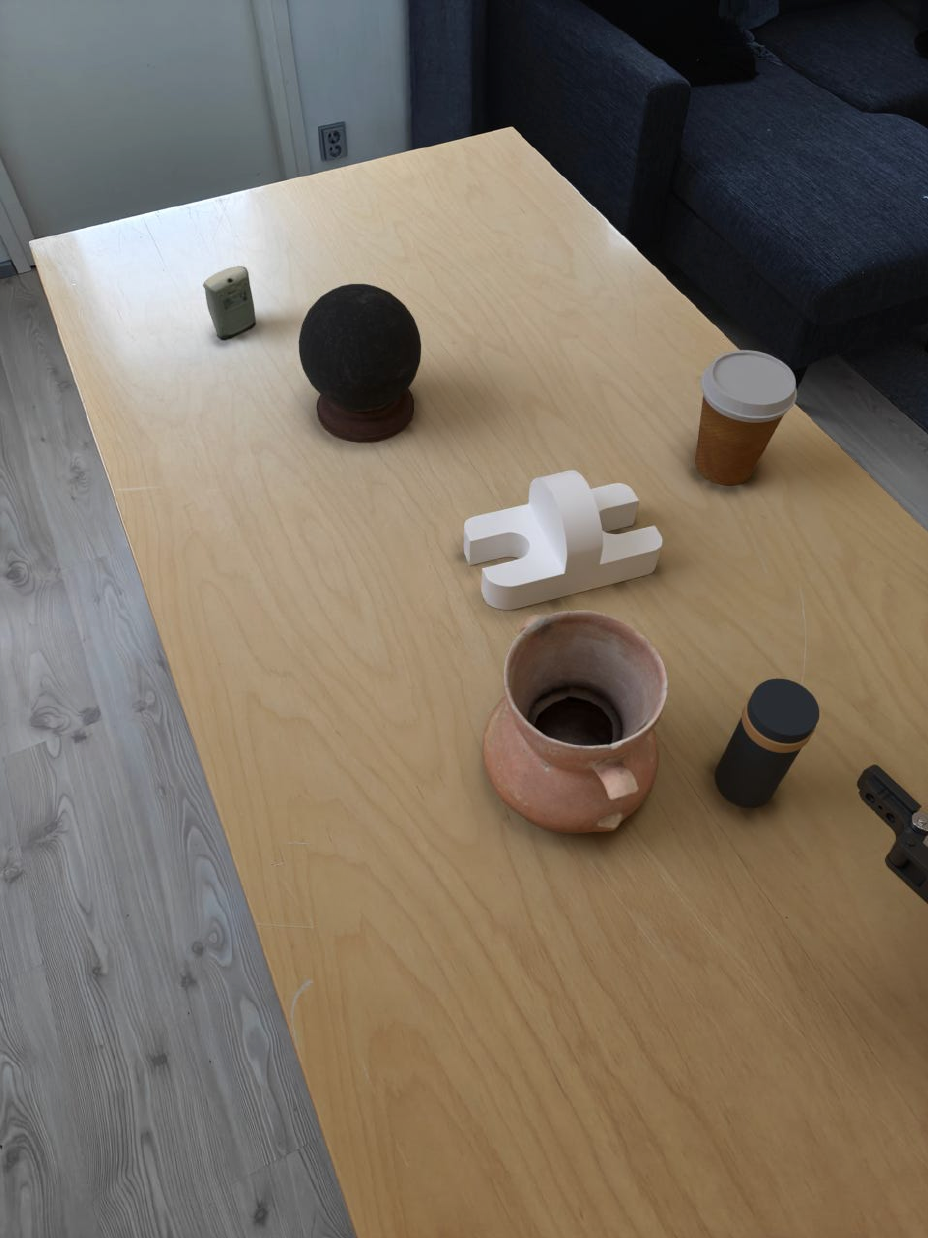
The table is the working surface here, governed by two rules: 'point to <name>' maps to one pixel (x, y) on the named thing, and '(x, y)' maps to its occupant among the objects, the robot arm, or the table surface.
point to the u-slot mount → (560, 542)
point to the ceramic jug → (576, 722)
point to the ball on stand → (361, 361)
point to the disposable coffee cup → (740, 413)
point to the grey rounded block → (230, 302)
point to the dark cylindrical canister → (766, 741)
